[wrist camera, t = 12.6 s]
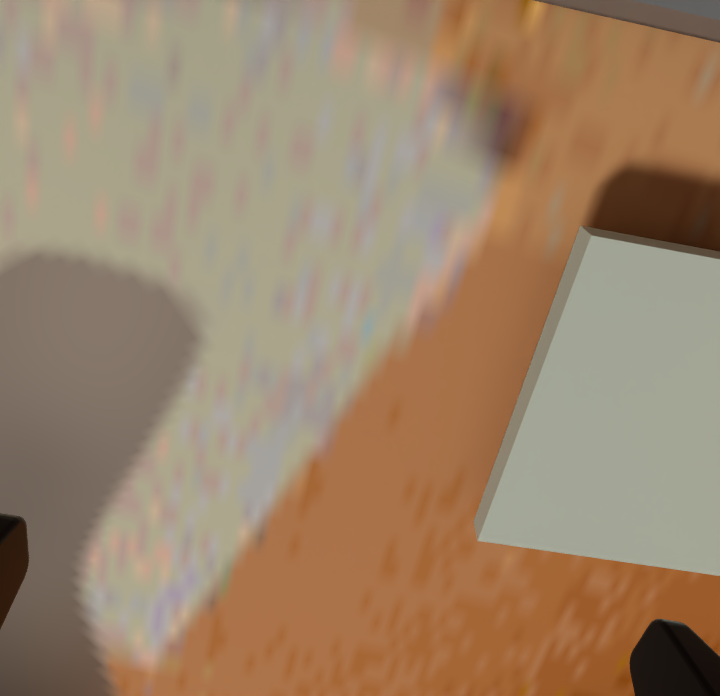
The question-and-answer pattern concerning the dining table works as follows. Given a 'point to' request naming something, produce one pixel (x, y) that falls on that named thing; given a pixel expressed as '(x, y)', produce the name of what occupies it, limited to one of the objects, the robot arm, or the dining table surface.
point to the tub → (657, 14)
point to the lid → (619, 412)
